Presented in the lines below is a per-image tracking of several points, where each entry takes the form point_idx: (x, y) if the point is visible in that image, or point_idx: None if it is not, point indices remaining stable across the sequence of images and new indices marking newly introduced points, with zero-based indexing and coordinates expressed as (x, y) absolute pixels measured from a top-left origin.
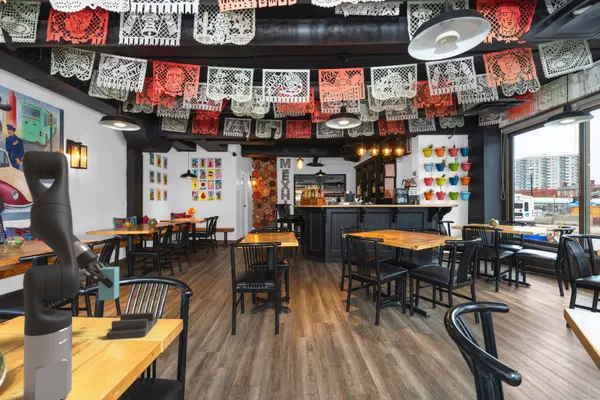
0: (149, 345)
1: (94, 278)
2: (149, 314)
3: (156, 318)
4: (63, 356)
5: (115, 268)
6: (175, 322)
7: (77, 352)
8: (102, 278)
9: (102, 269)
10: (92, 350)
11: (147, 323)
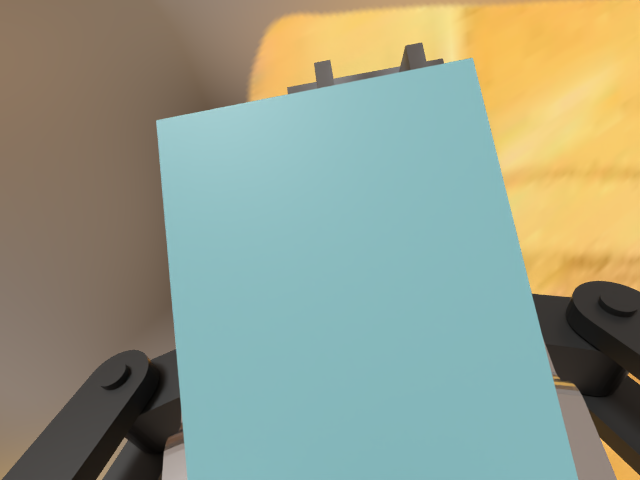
0: (503, 22)
1: (634, 431)
2: (332, 79)
3: (299, 86)
4: None
5: (398, 75)
6: (292, 28)
7: (584, 260)
8: (540, 303)
9: (558, 431)
10: (562, 210)
11: (402, 61)
